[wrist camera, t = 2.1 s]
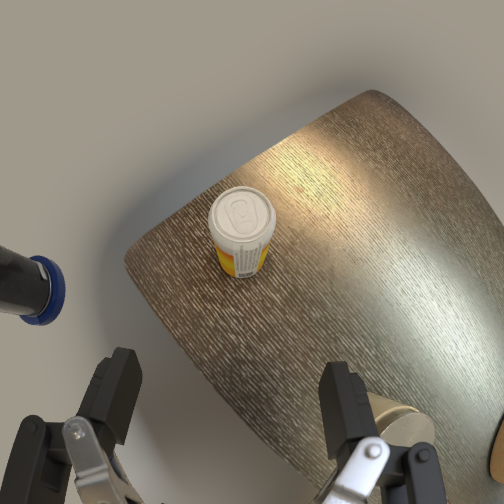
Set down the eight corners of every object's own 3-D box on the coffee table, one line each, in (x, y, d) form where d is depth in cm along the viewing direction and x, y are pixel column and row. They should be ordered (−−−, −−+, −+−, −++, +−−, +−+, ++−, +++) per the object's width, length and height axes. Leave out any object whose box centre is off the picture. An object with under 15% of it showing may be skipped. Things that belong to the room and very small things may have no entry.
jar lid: (375, 484, 22) (383, 493, 20) (350, 438, 24) (358, 446, 22) (431, 442, 23) (442, 447, 21) (412, 394, 25) (423, 397, 23)
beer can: (255, 230, 40) (263, 175, 26) (270, 271, 39) (287, 234, 24) (213, 243, 40) (199, 193, 25) (227, 285, 38) (218, 256, 24)
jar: (346, 458, 32) (380, 493, 20) (321, 414, 34) (352, 443, 22) (396, 424, 33) (441, 446, 22) (375, 379, 35) (421, 393, 24)
